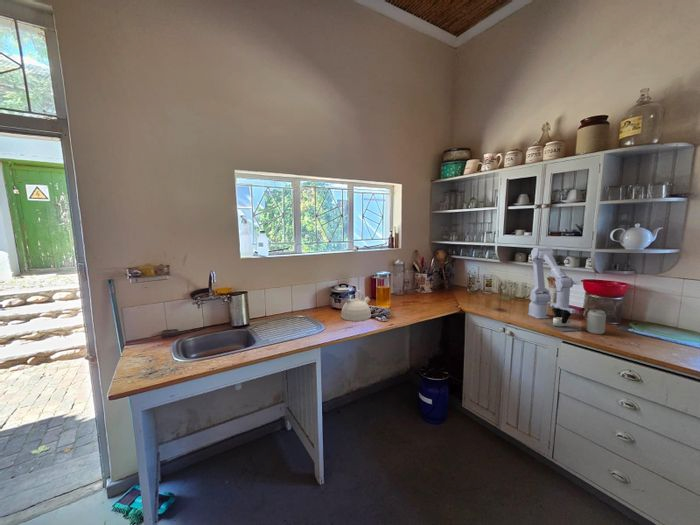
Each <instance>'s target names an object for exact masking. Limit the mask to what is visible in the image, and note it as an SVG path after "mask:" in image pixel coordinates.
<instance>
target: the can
mask: <svg viewBox="0 0 700 525" xmlns="http://www.w3.org/2000/svg"><path fill="white" fill-rule="evenodd" d="M606 318H607V314H606V312H605V311H604V310H601V309H589V311H588V312H587V318H586V331H587V332H588V333H590V334H592V335H603V334H605V331H606V321H607V319H606Z"/></svg>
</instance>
